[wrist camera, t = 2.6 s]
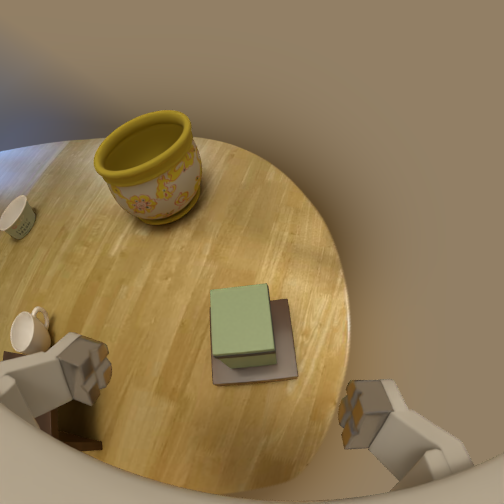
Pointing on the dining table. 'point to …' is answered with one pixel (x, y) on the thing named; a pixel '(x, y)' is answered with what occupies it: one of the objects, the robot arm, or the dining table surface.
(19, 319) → the cup
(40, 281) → the dining table surface
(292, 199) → the dining table surface
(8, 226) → the food container
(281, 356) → the brown square tile
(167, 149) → the flowerpot
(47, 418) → the wooden stool
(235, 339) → the block
